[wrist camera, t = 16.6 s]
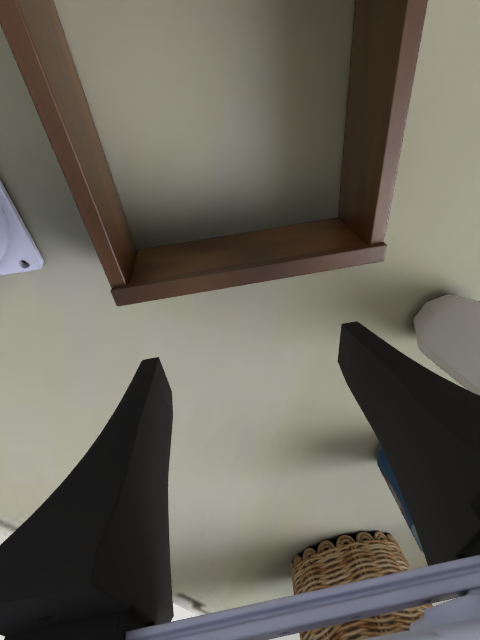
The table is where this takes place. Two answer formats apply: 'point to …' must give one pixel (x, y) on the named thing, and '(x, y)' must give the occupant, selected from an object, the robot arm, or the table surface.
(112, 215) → the open wooden tray
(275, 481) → the table surface
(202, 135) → the table surface
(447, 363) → the salt shaker
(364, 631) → the wicker basket
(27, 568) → the robot arm
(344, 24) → the table surface
